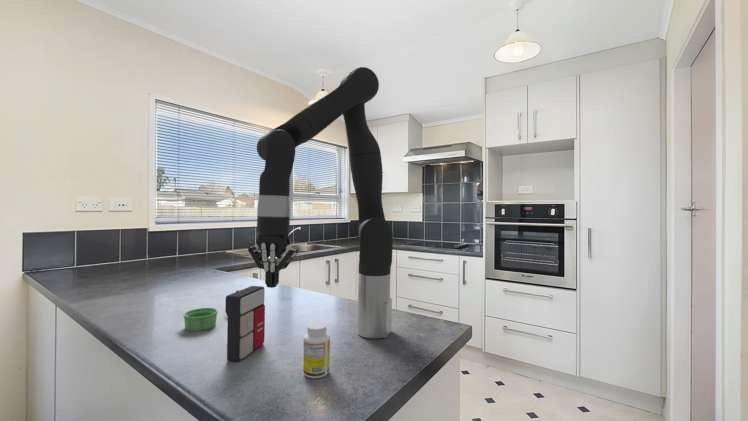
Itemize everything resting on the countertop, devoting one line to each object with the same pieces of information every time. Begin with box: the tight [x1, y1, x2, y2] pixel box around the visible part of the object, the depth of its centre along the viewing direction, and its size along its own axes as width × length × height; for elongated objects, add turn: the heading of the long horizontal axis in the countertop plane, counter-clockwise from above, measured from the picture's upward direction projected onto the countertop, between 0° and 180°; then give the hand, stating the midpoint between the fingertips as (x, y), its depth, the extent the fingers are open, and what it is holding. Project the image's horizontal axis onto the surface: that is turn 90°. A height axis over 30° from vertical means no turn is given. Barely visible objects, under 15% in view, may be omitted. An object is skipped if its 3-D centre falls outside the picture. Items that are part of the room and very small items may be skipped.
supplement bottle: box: [303, 322, 331, 379], centre depth 70 cm, size 6×6×10 cm
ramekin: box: [183, 307, 218, 332], centre depth 96 cm, size 9×9×4 cm
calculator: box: [224, 285, 266, 363], centre depth 80 cm, size 11×4×15 cm, turn 168°
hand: (271, 286), depth 78 cm, fingers closed
